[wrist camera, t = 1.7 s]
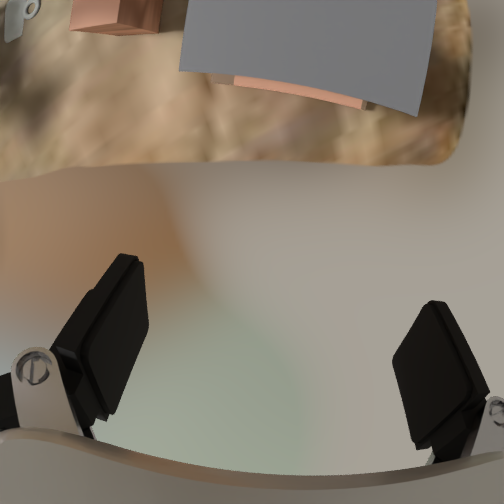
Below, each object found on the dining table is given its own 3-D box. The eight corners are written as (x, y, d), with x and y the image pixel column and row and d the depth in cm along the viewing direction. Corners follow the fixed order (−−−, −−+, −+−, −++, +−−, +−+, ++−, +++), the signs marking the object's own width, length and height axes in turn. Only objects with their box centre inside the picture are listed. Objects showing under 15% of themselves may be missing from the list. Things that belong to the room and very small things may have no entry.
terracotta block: (124, -2, 19) (76, -18, 12) (164, -6, 19) (125, -29, 12) (118, 35, 21) (69, 30, 14) (158, 33, 21) (116, 22, 14)
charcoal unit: (227, -11, 19) (192, -65, 8) (379, 17, 19) (446, -10, 9) (212, 82, 23) (167, 89, 13) (362, 109, 24) (420, 137, 14)
